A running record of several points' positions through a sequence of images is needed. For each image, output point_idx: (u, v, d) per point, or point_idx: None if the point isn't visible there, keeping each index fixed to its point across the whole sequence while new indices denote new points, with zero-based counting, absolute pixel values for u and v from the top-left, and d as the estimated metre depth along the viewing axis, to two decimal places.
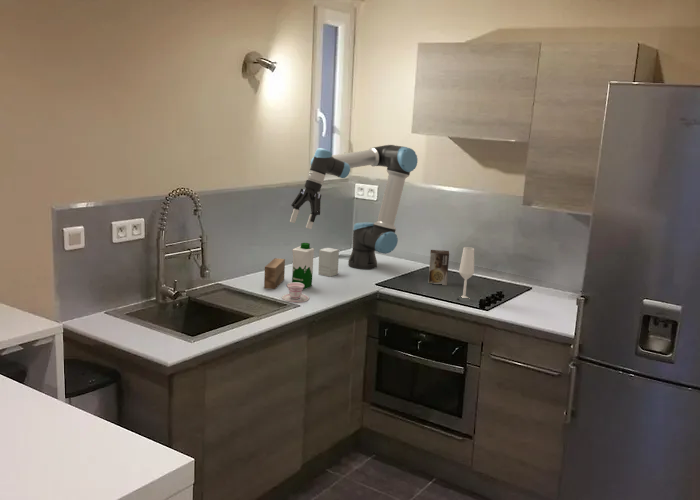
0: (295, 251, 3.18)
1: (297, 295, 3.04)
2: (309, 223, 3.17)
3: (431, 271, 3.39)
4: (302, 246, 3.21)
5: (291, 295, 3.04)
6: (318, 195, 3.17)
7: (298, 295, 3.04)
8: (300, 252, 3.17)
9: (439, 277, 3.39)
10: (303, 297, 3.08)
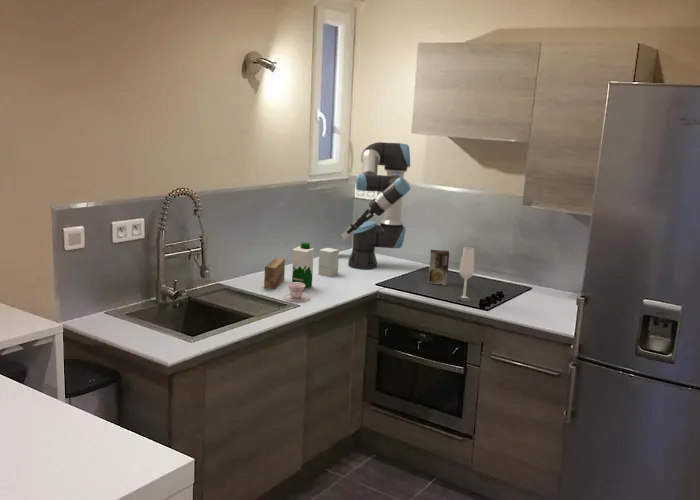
0: (295, 251, 3.18)
1: (298, 295, 3.04)
2: None
3: (431, 271, 3.39)
4: (302, 246, 3.21)
5: (292, 295, 3.04)
6: None
7: (299, 295, 3.04)
8: (300, 252, 3.17)
9: (439, 277, 3.39)
10: (304, 297, 3.09)
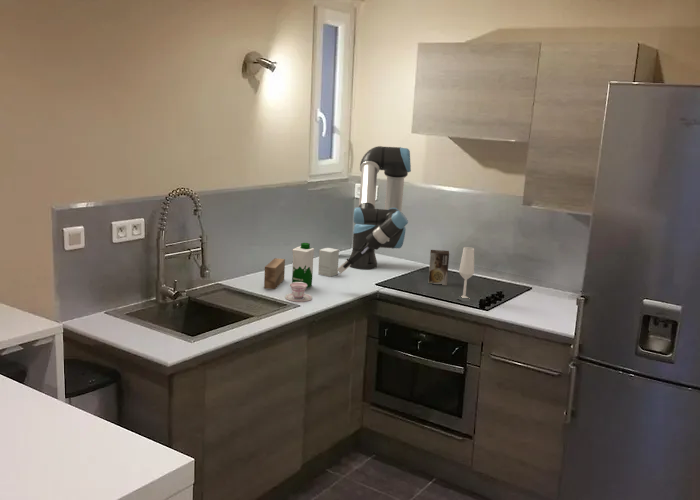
0: (295, 251, 3.18)
1: (300, 295, 3.05)
2: None
3: (431, 271, 3.39)
4: (302, 246, 3.21)
5: (294, 295, 3.05)
6: None
7: (301, 295, 3.05)
8: (300, 252, 3.17)
9: (439, 277, 3.39)
10: (306, 297, 3.09)
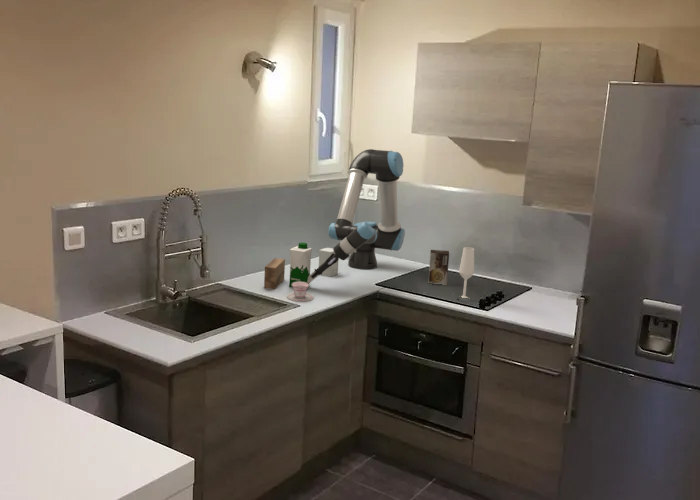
0: (292, 251, 3.18)
1: (302, 294, 3.05)
2: None
3: (431, 271, 3.39)
4: (299, 246, 3.21)
5: (296, 294, 3.06)
6: None
7: (303, 294, 3.06)
8: (297, 252, 3.17)
9: (439, 277, 3.39)
10: (308, 296, 3.10)
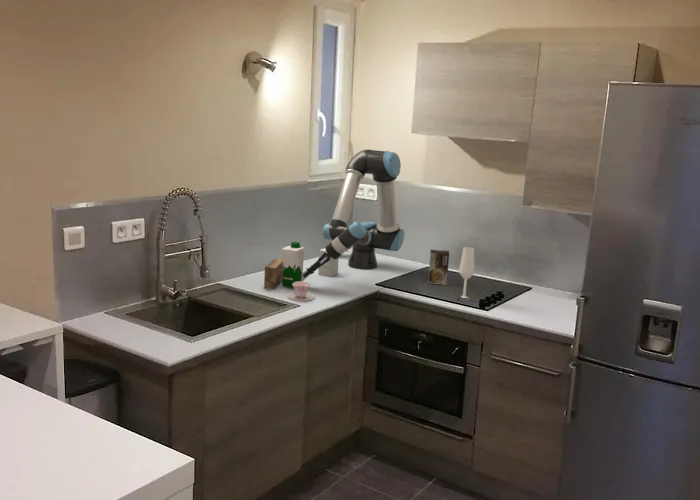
0: (285, 250, 3.18)
1: (302, 294, 3.06)
2: None
3: (431, 271, 3.39)
4: (292, 245, 3.21)
5: (296, 294, 3.06)
6: None
7: (303, 294, 3.06)
8: (289, 251, 3.17)
9: (439, 277, 3.39)
10: (308, 296, 3.10)
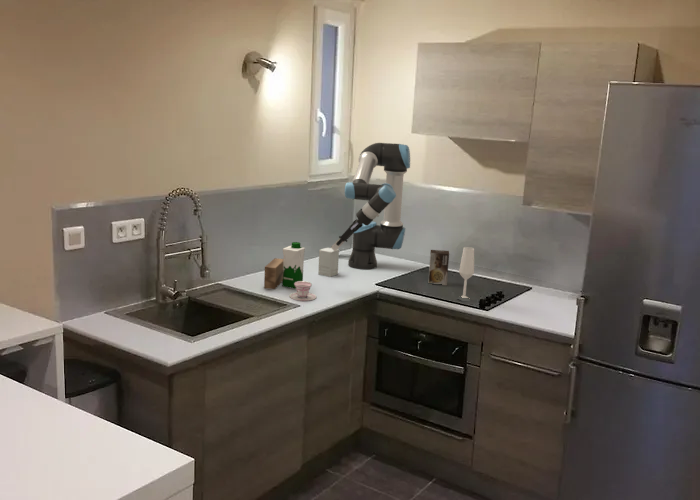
0: (285, 250, 3.18)
1: (304, 294, 3.06)
2: None
3: (431, 271, 3.39)
4: (293, 245, 3.21)
5: (298, 294, 3.07)
6: None
7: (305, 294, 3.07)
8: (290, 251, 3.17)
9: (439, 277, 3.39)
10: (310, 296, 3.11)
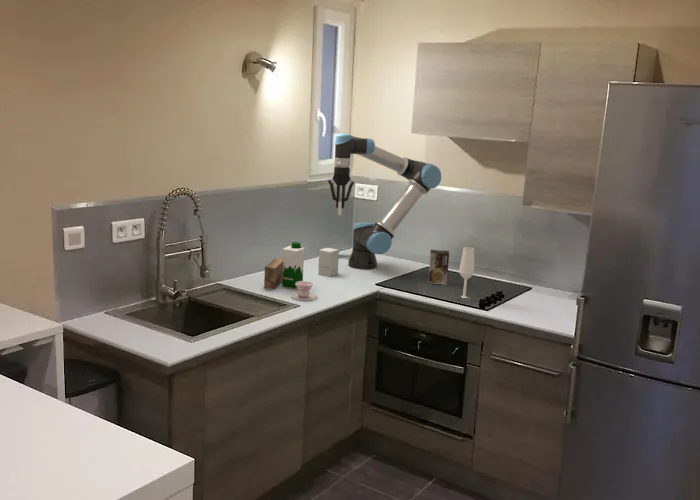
0: (285, 250, 3.18)
1: (305, 293, 3.07)
2: (341, 210, 3.40)
3: (431, 271, 3.39)
4: (293, 245, 3.21)
5: (299, 293, 3.07)
6: (353, 184, 3.36)
7: (306, 293, 3.07)
8: (290, 251, 3.17)
9: (439, 277, 3.39)
10: (311, 295, 3.11)
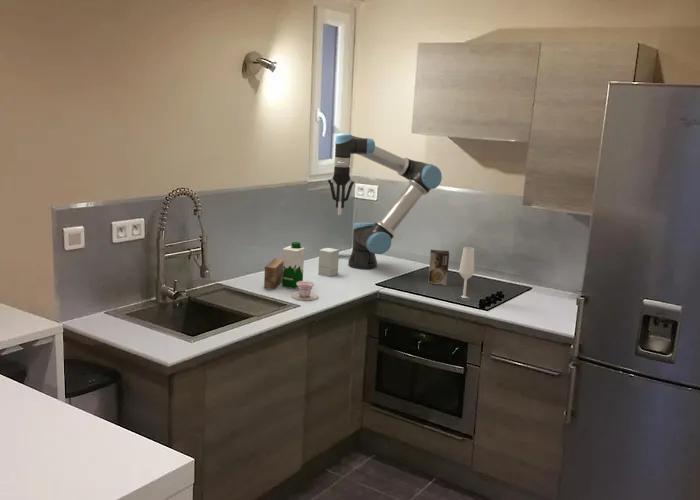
0: (285, 250, 3.18)
1: (306, 293, 3.07)
2: (341, 210, 3.40)
3: (431, 271, 3.39)
4: (293, 245, 3.21)
5: (300, 293, 3.07)
6: (353, 183, 3.36)
7: (307, 293, 3.07)
8: (290, 251, 3.17)
9: (439, 277, 3.39)
10: (312, 295, 3.11)
